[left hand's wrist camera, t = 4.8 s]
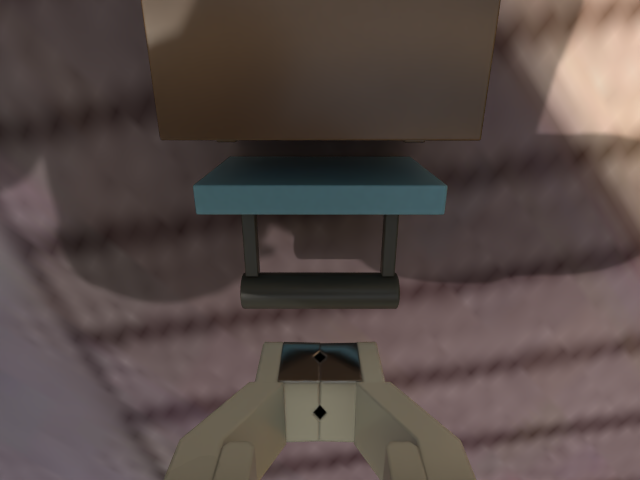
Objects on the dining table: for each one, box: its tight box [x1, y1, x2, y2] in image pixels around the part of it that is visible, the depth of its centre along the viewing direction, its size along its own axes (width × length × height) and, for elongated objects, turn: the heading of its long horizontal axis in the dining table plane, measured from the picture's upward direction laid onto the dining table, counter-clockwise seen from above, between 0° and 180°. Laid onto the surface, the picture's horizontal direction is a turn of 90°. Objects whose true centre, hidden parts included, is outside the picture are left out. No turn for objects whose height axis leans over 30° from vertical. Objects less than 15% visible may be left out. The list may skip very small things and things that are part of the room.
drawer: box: [193, 140, 447, 309], centre depth 16 cm, size 26×10×7 cm, turn 0°
